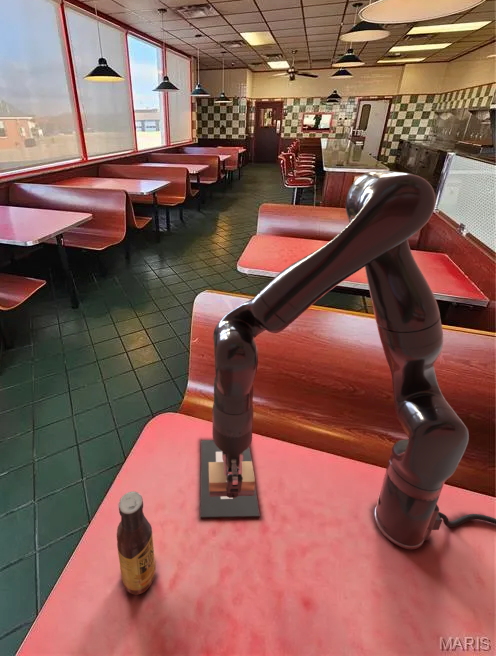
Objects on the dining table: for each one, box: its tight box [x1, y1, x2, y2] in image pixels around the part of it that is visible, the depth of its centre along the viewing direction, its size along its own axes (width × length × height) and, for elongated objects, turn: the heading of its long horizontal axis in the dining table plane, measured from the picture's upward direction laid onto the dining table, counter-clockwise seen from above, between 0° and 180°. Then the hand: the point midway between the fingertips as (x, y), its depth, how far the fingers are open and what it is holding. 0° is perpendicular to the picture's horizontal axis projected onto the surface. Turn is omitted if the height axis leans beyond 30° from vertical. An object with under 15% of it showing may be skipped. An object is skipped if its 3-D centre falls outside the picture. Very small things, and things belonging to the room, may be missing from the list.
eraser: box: [209, 460, 256, 497], centre depth 67 cm, size 9×4×4 cm, turn 91°
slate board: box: [200, 439, 261, 519], centre depth 81 cm, size 13×20×1 cm, turn 1°
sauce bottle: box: [116, 490, 156, 596], centre depth 59 cm, size 6×6×20 cm
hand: (231, 482), depth 67 cm, fingers closed on eraser, 4 cm apart
